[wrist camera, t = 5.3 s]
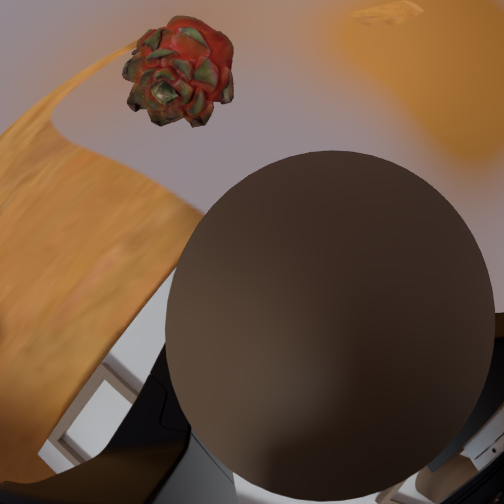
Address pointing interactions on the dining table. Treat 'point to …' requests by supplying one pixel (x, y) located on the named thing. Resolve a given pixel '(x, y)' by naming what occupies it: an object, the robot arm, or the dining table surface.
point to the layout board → (125, 393)
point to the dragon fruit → (180, 72)
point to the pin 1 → (329, 326)
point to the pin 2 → (444, 478)
